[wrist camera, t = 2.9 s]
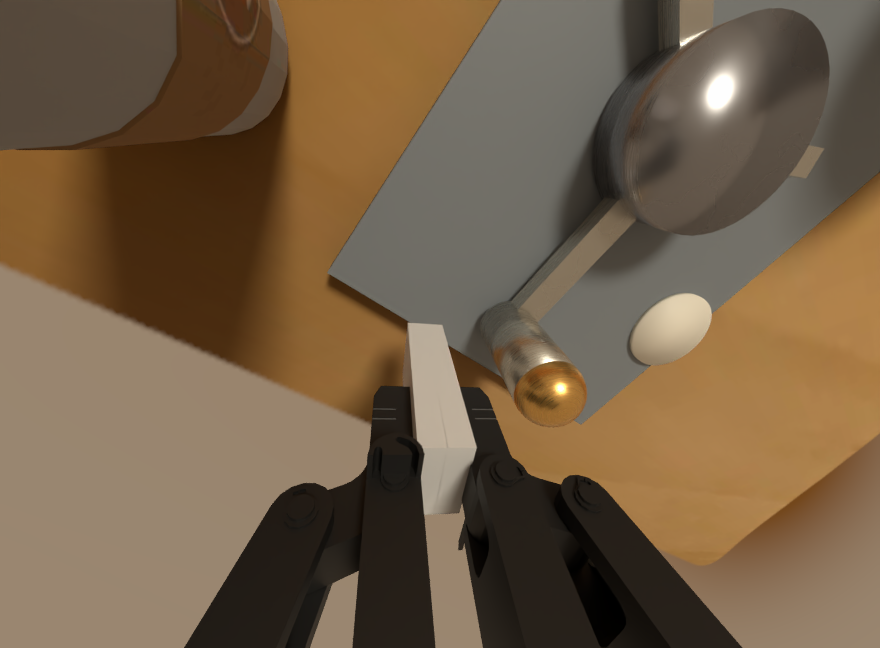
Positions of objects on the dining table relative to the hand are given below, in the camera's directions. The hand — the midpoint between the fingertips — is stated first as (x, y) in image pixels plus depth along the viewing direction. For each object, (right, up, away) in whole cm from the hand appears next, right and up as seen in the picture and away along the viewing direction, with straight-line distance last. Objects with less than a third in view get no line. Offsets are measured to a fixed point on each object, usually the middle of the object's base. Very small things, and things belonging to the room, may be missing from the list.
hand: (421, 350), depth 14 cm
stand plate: (+10, +8, +2) cm, 13 cm away
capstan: (+8, +6, +1) cm, 10 cm away
